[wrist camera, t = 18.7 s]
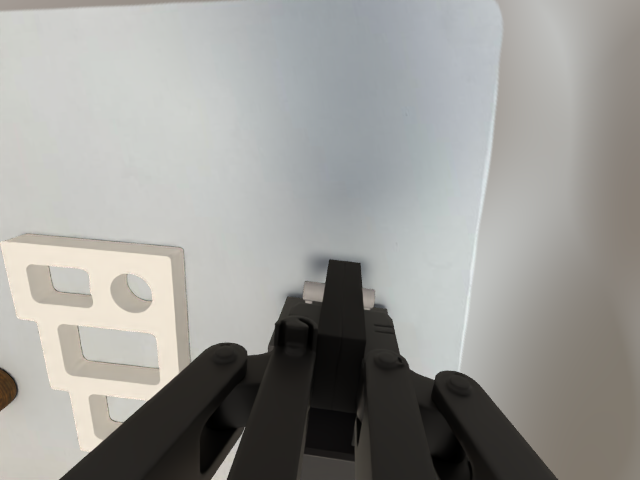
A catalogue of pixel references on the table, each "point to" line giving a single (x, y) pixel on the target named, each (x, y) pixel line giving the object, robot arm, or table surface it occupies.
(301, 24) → the table surface
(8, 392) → the utensil holder
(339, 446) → the drawer
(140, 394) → the holder
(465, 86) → the table surface
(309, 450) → the cabinet
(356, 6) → the table surface
